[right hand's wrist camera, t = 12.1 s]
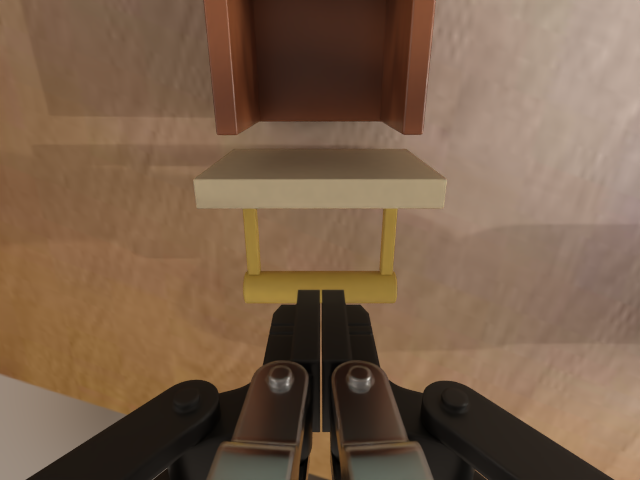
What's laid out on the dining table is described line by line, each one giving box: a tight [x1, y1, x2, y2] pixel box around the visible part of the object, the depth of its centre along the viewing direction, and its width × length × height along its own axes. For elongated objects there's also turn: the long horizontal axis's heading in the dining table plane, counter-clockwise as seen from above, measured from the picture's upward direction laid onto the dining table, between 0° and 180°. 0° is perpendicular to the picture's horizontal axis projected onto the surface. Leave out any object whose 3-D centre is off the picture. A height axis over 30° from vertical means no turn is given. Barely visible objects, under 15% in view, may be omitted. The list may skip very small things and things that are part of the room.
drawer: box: [193, 0, 447, 303], centre depth 17 cm, size 22×10×8 cm, turn 0°
